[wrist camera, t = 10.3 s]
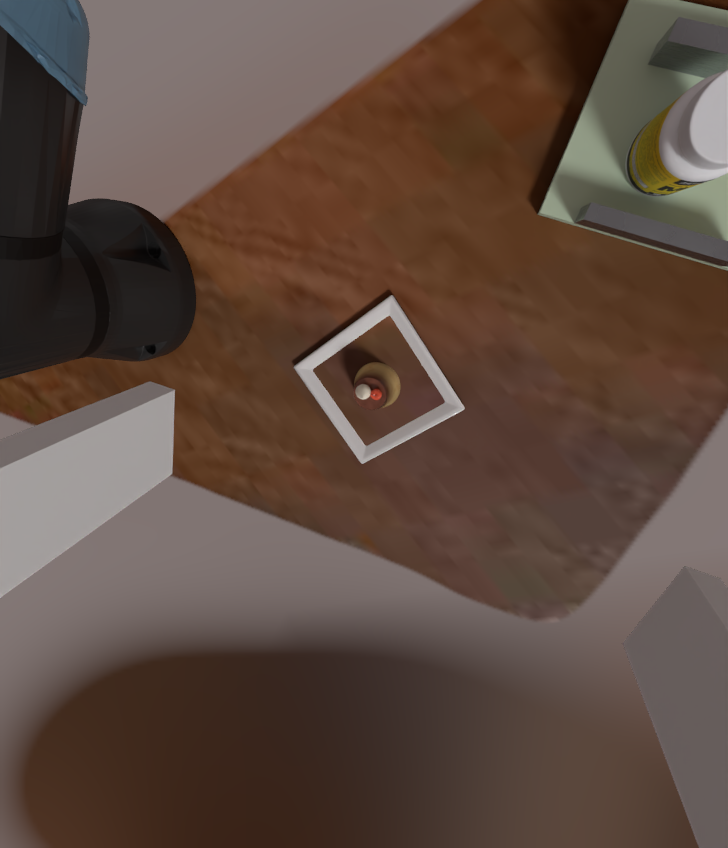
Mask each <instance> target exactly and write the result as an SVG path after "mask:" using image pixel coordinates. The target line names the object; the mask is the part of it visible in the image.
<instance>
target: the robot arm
mask: <svg viewBox="0 0 728 848" xmlns="http://www.w3.org/2000/svg"><path fill="white" fill-rule="evenodd" d="M88 46H89V28H88V22H87V18H86V15H85V13H84V10H83V8H82V6H81V4H80V2H79V1H78V0H0V379H3V378H7V377H10V376H14V375H18V374H22V373H26V372H29V371H33V370H37V369H41V368H44V367H48V366H52V365H56V364H60V363H63V362H67V361H71V360H75V359H79V358H83V357H93V358H103V359H113V360H123V361H145V360H149V359H153V358H156V357H160V356H163V355H166V354H168V353H170V352H172V351H173V350H175V349H176V348H177V347H179V346H180V345H181V343H182V342H183V341H184V340H185V338H186V337H187V335H188V333H189V331H190V329H191V326H192V323H193V320H194V315H195V308H196V293H195V285H194V279H193V275H192V272H191V268H190V265H189V263H188V260H187V258H186V256H185V253H184V251H183V250H182V248H181V246H180V244H179V243H178V241H177V240H176V238H175V237H174V235H173V234H172V233H171V231H170V230H169V229H168V228H167V227H166V226H165V225H164V224H163V223H162V222H161V221H160V220H159V219H158V218H157V217H156V216H154V215H153V214H152V213H150V212H149V211H147V210H145V209H143V208H141V207H139V206H137V205H135V204H132V203H128V202H123V201H117V200H110V199H88V200H84V201H81V202H77V203H74V204H70V205H68V200H69V194H70V186H71V180H72V173H73V166H74V159H75V152H76V145H77V138H78V133H79V126H80V121H81V115H82V110H83V105H85V106H86V104H87V99H88V98H87V96H86V94H85V84H86V71H87V58H88ZM174 399H175V390H173V389H171V388H168V387H165V386H162V385H159V384H156V383H153V382H147V383H145V384H142V385H139V386H137V387H134V388H132V389H129V390H127V391H124V392H121V393H119V394H116V395H114V396H111V397H109V398H106V399H103V400H101V401H98V402H96V403H93V404H91V405H88V406H85V407H83V408H80V409H78V410H75V411H73V412H70V413H67V414H65V415H62V416H60V417H57V418H55V419H52V420H49V421H47V422H44V423H42V424H39V425H37V426H34V427H31V428H29V429H26V430H24V431H22V432H19V433H17V434H14V435H11V436H8V437H6V438H3V439H1V440H0V598H1V597H2V596H3V595H5V594H6V593H8V592H9V591H10V590H12V589H13V588H14V587H16V586H17V585H19V584H20V583H21V582H23V581H24V580H26V579H27V578H28V577H30V576H31V575H32V574H34V573H35V572H37V571H38V570H39V569H41V568H42V567H43V566H45V565H46V564H48V563H49V562H51V561H52V560H53V559H54V558H56V557H57V556H59V555H60V554H62V553H63V552H64V551H66V550H67V549H68V548H70V547H71V546H73V545H74V544H76V543H77V542H78V541H80V540H81V539H82V538H84V537H85V536H87V535H88V534H89V533H91V532H92V531H94V530H95V529H96V528H98V527H99V526H101V525H102V524H103V523H105V522H106V521H107V520H109V519H110V518H112V517H113V516H114V515H116V514H117V513H119V512H120V511H121V510H123V509H124V508H125V507H127V506H128V505H130V504H131V503H132V502H134V501H135V500H137V499H138V498H139V497H141V496H142V495H144V494H145V493H146V492H148V491H149V490H150V489H152V488H153V487H155V486H156V485H157V484H159V483H160V482H162V481H163V480H164V479H166V478H167V477H169V476H170V475H171V474H172V466H173V432H174ZM623 646H624V648H625V651H626V654H627V657H628V659H629V662H630V664H631V667H632V670H633V673H634V675H635V678H636V681H637V683H638V686H639V688H640V691H641V694H642V697H643V699H644V702H645V705H646V707H647V710H648V712H649V715H650V718H651V721H652V723H653V726H654V729H655V731H656V734H657V736H658V739H659V742H660V745H661V747H662V750H663V752H664V755H665V758H666V761H667V763H668V766H669V768H670V771H671V774H672V777H673V779H674V782H675V785H676V787H677V790H678V793H679V795H680V798H681V800H682V803H683V806H684V809H685V811H686V814H687V817H688V819H689V822H690V825H691V827H692V830H693V833H694V835H695V838H696V841H697V843H698V846H699V848H728V588H727V587H726V585H725V584H724V582H723V581H722V580H721V579H720V578H718V577H715V576H712V575H709V574H706V573H704V572H701V571H698V570H695V569H692V568H689V567H686V566H685V567H683V569H682V570H681V571H680V573H679V574H678V575H677V576H676V577H675V579H674V580H673V581H672V582H671V584H670V585H669V586H668V587H667V589H666V590H665V591H664V592H663V594H662V595H661V596H660V597H659V599H658V600H657V601H656V602H655V604H654V605H653V606H652V608H651V609H650V610H649V611H648V612H647V614H646V615H645V616H644V617H643V619H642V620H641V621H640V622H639V624H638V625H637V626H636V627H635V629H634V630H633V631H632V632H631V634H630V635H629V636H628V637H627V639H626V640H625V641H624V642H623Z"/></svg>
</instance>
